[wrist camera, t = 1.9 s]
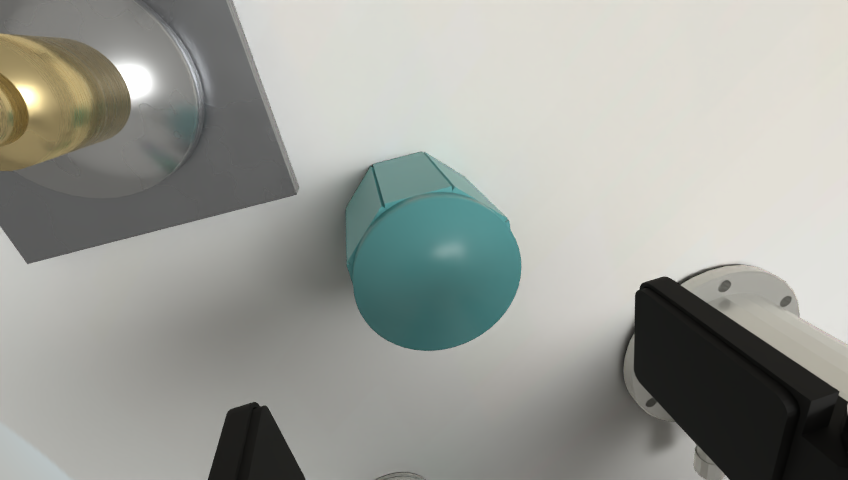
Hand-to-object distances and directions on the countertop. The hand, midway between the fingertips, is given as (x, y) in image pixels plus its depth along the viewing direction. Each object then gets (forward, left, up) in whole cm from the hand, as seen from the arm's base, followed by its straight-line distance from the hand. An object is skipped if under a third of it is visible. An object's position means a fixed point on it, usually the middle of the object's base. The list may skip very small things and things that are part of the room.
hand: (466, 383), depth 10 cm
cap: (0, -1, -13) cm, 13 cm away
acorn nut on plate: (+9, +10, -13) cm, 19 cm away
